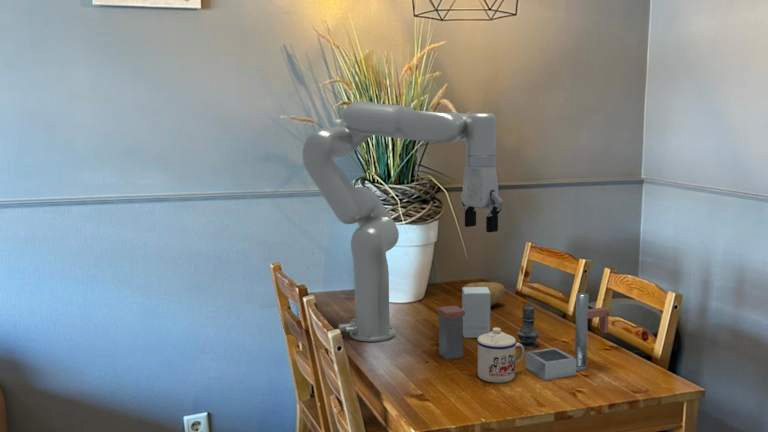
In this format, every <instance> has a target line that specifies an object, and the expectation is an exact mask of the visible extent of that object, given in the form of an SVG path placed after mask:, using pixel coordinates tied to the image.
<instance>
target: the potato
mask: <svg viewBox="0 0 768 432" xmlns="http://www.w3.org/2000/svg"><path fill="white" fill-rule="evenodd" d="M463 287H488V289H489V291H490V293H491V295H490V307H492V306H494V305H495V304H498V303H499V302H500V301H501V300H502V299H503V298H504V296H505V292H506V288H505V286H504V285H503V284H502V283H499V282H495V281H493V282H492V281H490V282H488V281H480V282H472V283H471V282H470V283H467V284H465V285H464V286H463Z"/></svg>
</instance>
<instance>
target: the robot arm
mask: <svg viewBox="0 0 768 432" xmlns="http://www.w3.org/2000/svg"><path fill="white" fill-rule="evenodd" d="M341 118H342V122H341V123H339V124H338V125H337V126H331V127H330V126H329V127H322V128H319V129H318V128H317V129H315V130H313V131H312V132H311V133H310V134H309V135H308V137H307V138H306V139H305V142H304V144H303V147H302V161H303V165H304V167H305V170H306V172H307V173H308V175H309V176H310V178H311V179H312V181H313V182H314V184H315V185H316V187H317V188H318V189H319V191H320V193H321V195H322V197H323V198H324V199H325V201H326V202H327V204H328V205H329V207H330V208H331V210H332V212H333V213H334V215H335V216H336V218H337V219H338V220H339V221H340V222H341V223H342V224H345V225H353V224H356V223H357V224H358V226H359V227H357V228H356V229H355V231H354V232H353V233H352V236H351V239H350V249H351V250H350V251H351V255H352V263H353V279H354V280H353V281H354V282H353V283H354V317H353V318H351V321H349V322H348V323H338V325H337V328H338V330H339V329H340V330H341V331H340V332H343V331H345V333H349V336H350V337H351V338H352V339H353V340H356V341H361V342H369V343H371V342H373V343H375V342H383V341H384V342H385V341H388V340H390V339H392V338H394V337H395V336H396V330H395V329H394V327H392V326H390V279H389V276H390V274H389V273H390V272H389V264H388V259H387V252H388V251H390V250H392V249H393V248H394V247H395V246H396V245H397V243H398V242H399V236H400V235H399V233H400V232H399V229H398V227H397V224H396V222H395V221H394V219H393V218H392V217H391V214H390V213H389V212H388V211H387V209H386V207H385V205H384V204H383V203H382V201H381V200H380V199H379V197H378V196H377V195H376V194H375V192H374V191H373V190H372V189H370V188H367V187H365V186H355V185H354V184H353V183H352V181H351V180H350V179H349V177H348V174H346V172H345V170H344V169H343V168H342V167H341V166H339V164H337V162H336V161H335V159H336V158H342V157H346V156H348V155H350V154H351V153H353V152H354V151H355V150H356V149H357V148H359V147H360V146H361V145H362V144H363V143H365V142H366V141H367V140H369V139H370V138H371V137H372V136H377V137H378V136H379V137H386V138H394V139H401V140H411V141H417V142H424V143H425V142H426V143H432V144H433V143H434V144H435V143H436V144H450V143H457V142H463V141H465V161H466V162H465V167H464V168H465V169H464V173H463V180H462V181H463V182H462V192H461V193H460V197H461V204H462V206H463V211H464V227H465V228H467V227H468V228H469V227H475V226H477V210H476V208H477V209H485V212H486V213H487V215H486V217H485V220H486V221H485V223H486V224H485V225H486V226H485V228H486V229H485V231H486V233H493V232H498V231H499V216H500V213H501V211H502V206H503V204H504V200H503V198H502V197H501V196H499V183H498V173H497V118H496V115H495V114H494V113H492V112H474V113H473V112H472V113H462V112H435V111H424V110H416V109H412V108H409V107H406V106H404V105H400V104H387V103H386V104H385V103H376V102H374V101H373V102H372V101H355V102H351V103H349V104H348V105H347V106H345V108H344V110H343V113H342V117H341Z"/></svg>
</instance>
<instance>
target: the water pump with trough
mask: <svg viewBox="0 0 768 432" xmlns="http://www.w3.org/2000/svg"><path fill="white" fill-rule="evenodd" d="M589 295H590V294H588V293H585V292H579V293H576V295H575V296H576V297H575V298H576V301H575V325H574V327H575V329H574V356H572V355H570V354H568V353H567V352H565V351H563V350H561V349H559V348H557V347H550V348H544V349H538V350H537V349H536V350H530V351H525V353H524V356H525V360H524V361H525V362H524V363H525V365H524V369H526V370H528V371H529V372H531V373H532V374H534V375H535V376H537V377H538V378H540V379H542V380H544V381H549V380H550V381H551V380H556V379H561V378H568V377H573V376H577V371H584V370H587V355H588V353H587V352H588V349H587V348H588V328H589V327H588V325H589V324H588V323H589V319H593V318H594V319H595V318H596V319H597V318H599V327H598V328H599V329H598V331H599V332H602V333H603V334H606V333H607V334H609V317H610V316H609V313H610V309H609V308H606V307H604V306H603V307H596V308H594V307H593V308H589V299H590V298H589Z"/></svg>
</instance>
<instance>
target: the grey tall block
mask: <svg viewBox="0 0 768 432" xmlns="http://www.w3.org/2000/svg"><path fill="white" fill-rule="evenodd" d="M436 309H437V310H436V312H437V313H438V354H439V355H440V356H441V357H442V358H444V359H445V360H453V359H459V358H460V359H461V358H464V356H463V355H464V336H463V316H464V315H465V311H464V310H463V309H462V307H459V306H458V305H448V306H441V307H440V306H439V307H437V308H436Z"/></svg>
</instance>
